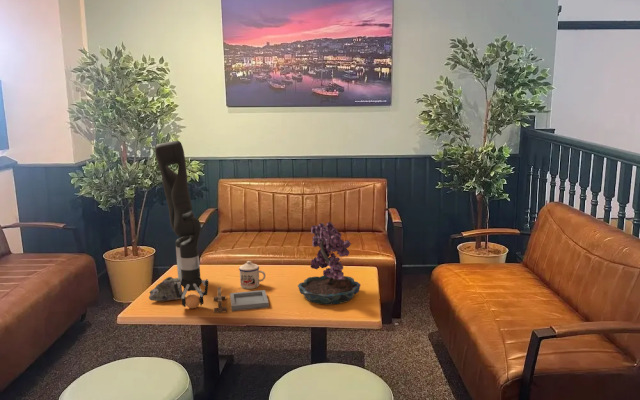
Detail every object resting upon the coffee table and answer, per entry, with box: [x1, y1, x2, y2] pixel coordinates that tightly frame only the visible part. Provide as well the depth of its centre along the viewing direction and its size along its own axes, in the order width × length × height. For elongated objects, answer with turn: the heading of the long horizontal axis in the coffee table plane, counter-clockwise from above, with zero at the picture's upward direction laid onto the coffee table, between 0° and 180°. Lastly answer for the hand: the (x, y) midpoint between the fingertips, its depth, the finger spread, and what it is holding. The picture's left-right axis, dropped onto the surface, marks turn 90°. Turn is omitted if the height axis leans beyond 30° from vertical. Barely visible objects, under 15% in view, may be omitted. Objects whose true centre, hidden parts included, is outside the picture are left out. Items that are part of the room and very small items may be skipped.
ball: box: [185, 293, 200, 309], centre depth 225 cm, size 6×6×6 cm
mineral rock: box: [148, 276, 183, 302], centre depth 235 cm, size 13×11×10 cm
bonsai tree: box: [297, 221, 361, 306], centre depth 234 cm, size 35×27×33 cm
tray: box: [229, 289, 270, 312], centre depth 229 cm, size 15×15×2 cm
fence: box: [213, 286, 228, 314], centre depth 227 cm, size 16×5×5 cm, turn 11°
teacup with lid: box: [238, 260, 266, 290], centre depth 248 cm, size 12×9×12 cm
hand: (193, 305), depth 225 cm, fingers closed on ball, 6 cm apart
